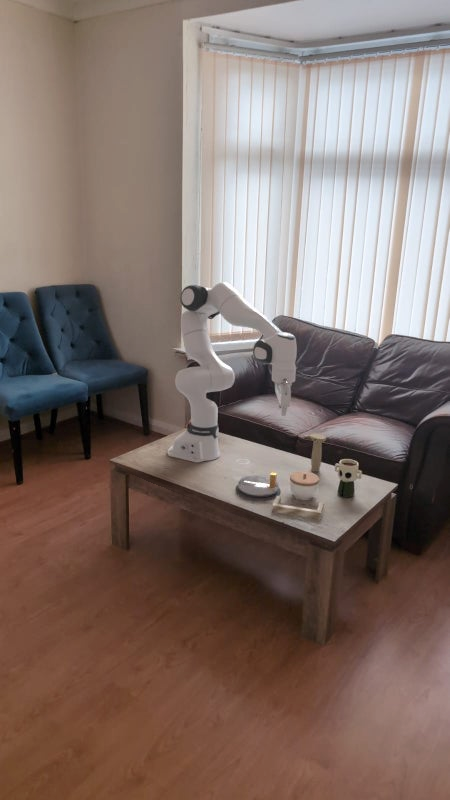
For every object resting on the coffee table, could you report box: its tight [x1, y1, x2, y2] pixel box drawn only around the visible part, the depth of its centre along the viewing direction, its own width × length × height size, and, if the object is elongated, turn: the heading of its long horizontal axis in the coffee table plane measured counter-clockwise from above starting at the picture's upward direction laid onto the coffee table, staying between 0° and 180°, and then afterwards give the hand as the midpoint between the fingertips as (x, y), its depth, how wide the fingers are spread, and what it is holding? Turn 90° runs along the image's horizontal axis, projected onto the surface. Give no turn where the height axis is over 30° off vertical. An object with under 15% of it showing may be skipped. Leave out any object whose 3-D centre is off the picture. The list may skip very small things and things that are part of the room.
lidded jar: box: [289, 471, 320, 501], centre depth 228 cm, size 11×11×9 cm
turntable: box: [237, 472, 279, 498], centre depth 231 cm, size 15×15×7 cm
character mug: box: [334, 458, 363, 498], centre depth 230 cm, size 11×7×13 cm, turn 51°
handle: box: [309, 433, 327, 473], centre depth 249 cm, size 5×6×15 cm
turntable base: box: [235, 484, 282, 502], centre depth 232 cm, size 17×17×1 cm
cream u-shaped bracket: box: [271, 495, 325, 520], centre depth 218 cm, size 17×8×2 cm, turn 74°
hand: (282, 411), depth 234 cm, fingers open, 8 cm apart
